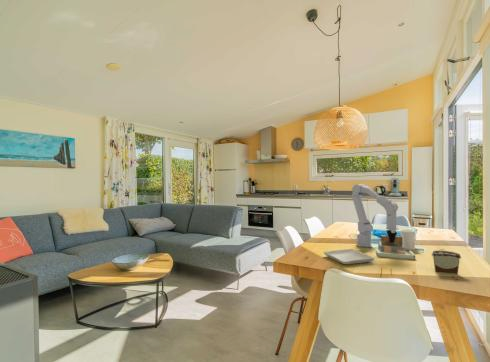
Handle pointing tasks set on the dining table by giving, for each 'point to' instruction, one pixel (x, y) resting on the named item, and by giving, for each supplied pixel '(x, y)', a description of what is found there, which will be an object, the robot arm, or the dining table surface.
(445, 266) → the food container
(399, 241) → the long brown wooden post
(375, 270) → the dining table surface
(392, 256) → the tray
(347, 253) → the salad plate
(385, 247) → the tile
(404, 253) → the tile
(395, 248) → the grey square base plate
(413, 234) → the mug
